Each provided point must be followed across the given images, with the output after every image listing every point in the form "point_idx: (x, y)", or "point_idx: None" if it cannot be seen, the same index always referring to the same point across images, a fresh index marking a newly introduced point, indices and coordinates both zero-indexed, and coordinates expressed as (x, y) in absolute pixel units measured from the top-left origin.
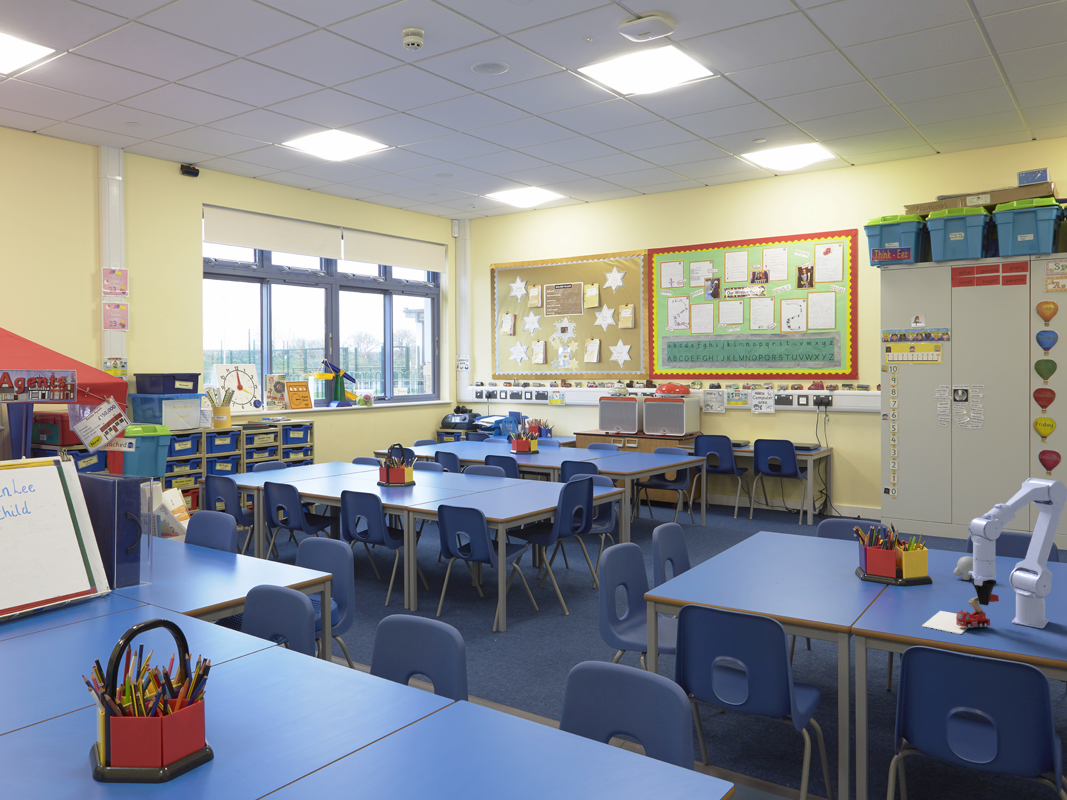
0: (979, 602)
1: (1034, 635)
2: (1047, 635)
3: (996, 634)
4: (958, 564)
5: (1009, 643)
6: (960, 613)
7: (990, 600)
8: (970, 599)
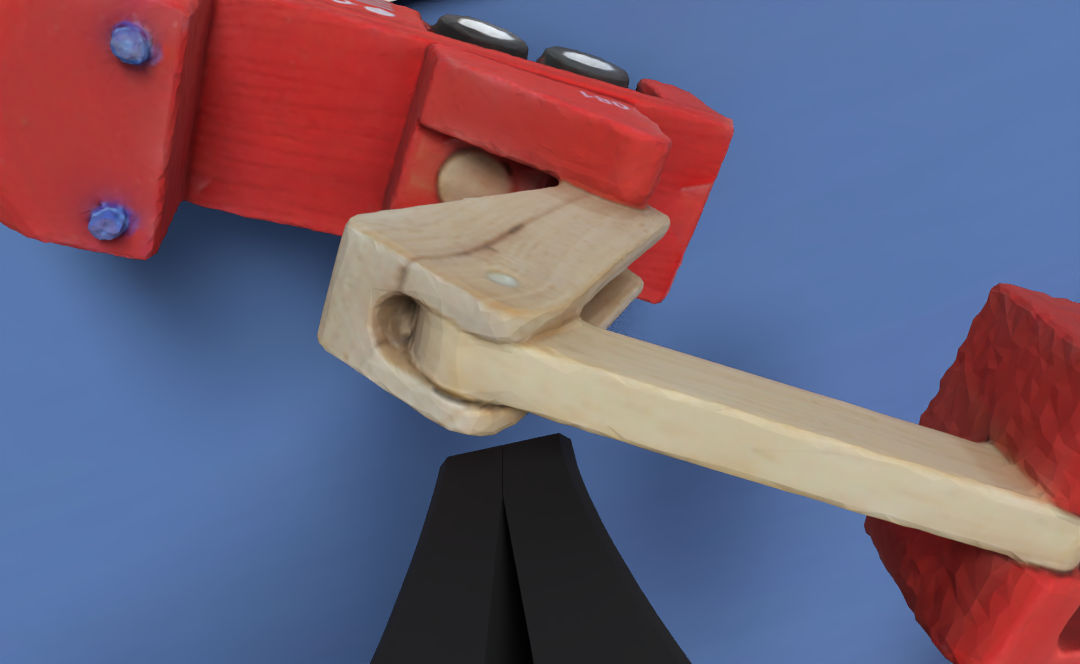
0: (436, 493)
1: (740, 596)
2: (837, 644)
3: None
4: None
5: (212, 593)
6: None
7: (881, 522)
8: (432, 286)
